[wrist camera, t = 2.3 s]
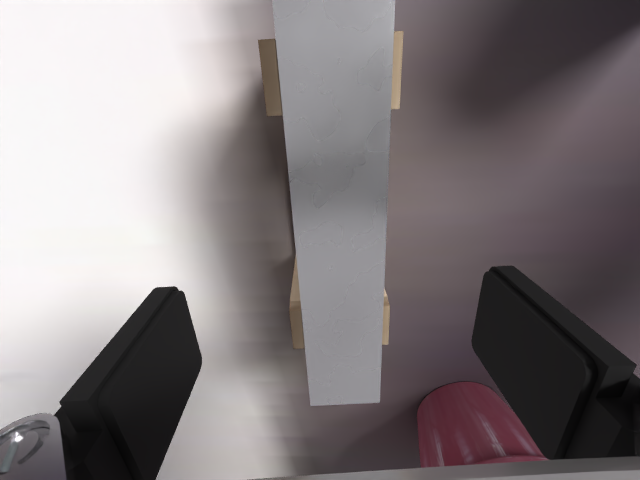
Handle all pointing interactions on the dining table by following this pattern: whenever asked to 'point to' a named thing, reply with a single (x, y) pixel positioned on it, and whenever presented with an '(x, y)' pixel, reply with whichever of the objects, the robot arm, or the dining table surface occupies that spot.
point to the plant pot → (471, 428)
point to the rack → (275, 109)
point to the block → (338, 183)
